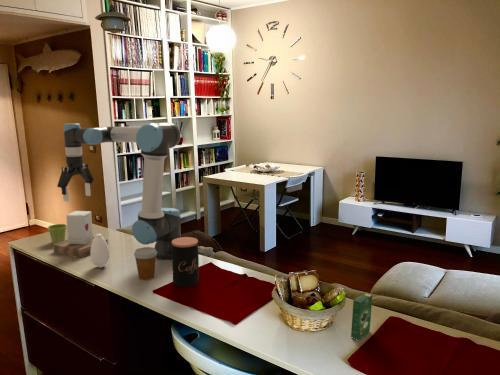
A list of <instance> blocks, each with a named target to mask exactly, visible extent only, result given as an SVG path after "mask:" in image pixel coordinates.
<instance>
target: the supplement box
mask: <svg viewBox="0 0 500 375" xmlns="http://www.w3.org/2000/svg"><path fill="white" fill-rule="evenodd" d="M92 219H93V216H92V211H91V210H90V211H89V210H87V211H85V210H74V211H72V212H70V213H68V214H67V215H66V225H67V227H66V230H67V240H68V243H69V244H84V245H85V244H87V243H88V242H90V241H91V240H93V237H94V233H93V220H92Z"/></svg>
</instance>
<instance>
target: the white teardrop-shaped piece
mask: <svg viewBox="0 0 500 375" xmlns="http://www.w3.org/2000/svg"><path fill="white" fill-rule="evenodd" d="M94 237H95V238H94V240H93V242H92V245H91V251H90V254H89V255H90V258H91V262H92V263H93V265H94V266H96V267H97V268H99V269H100V268H103V267H105V266H106V265H107V264H108V262H109V260H110V249H109V244H108V245H107V243H106V241H105V239H106V238H104V236H103V234H101V233H100V229H99V228H98V229H97V234H95V236H94Z"/></svg>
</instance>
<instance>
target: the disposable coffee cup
mask: <svg viewBox="0 0 500 375" xmlns="http://www.w3.org/2000/svg"><path fill="white" fill-rule="evenodd" d="M156 255H157V251H156V249H155V247H152V246H151V247H150V246H146V247H145V246H144V247H140V248H136V249H135V250H134V253H133V256H134V258H135V264H136V267H137V269H136V270H137V273H138V278H139V280H142V281H149V280H153V279H154V278H155V270H156V261H157V258H156Z"/></svg>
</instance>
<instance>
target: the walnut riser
mask: <svg viewBox="0 0 500 375" xmlns="http://www.w3.org/2000/svg"><path fill="white" fill-rule="evenodd" d="M95 237H96V236H93V240H94V238H95ZM104 239H105V241H106V243H107V245H108V246H109V240H108V239H107V238H104ZM93 240H91V241H90V242H88V243H87V244H85V245H84V244H69V243H68V239H65V241H62V242H59V243H56V244H54V243H53V244H52V245H53V253H56V254H59V255H65V256H70V257H75V258H78V259H82V258H85V257H87V256H88V255H89V256H90V255H91V254H90V251H91V245H92V242H93Z"/></svg>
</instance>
